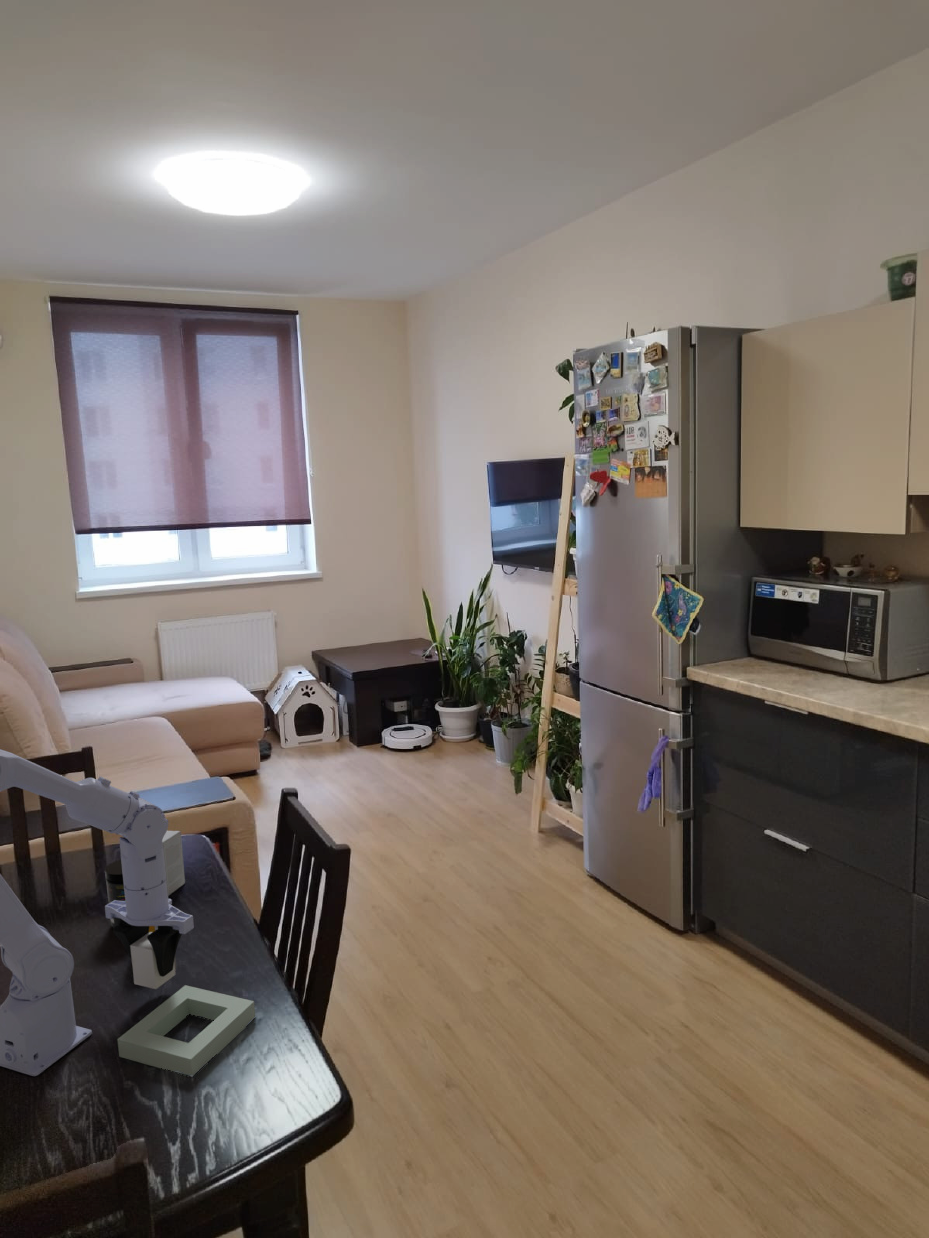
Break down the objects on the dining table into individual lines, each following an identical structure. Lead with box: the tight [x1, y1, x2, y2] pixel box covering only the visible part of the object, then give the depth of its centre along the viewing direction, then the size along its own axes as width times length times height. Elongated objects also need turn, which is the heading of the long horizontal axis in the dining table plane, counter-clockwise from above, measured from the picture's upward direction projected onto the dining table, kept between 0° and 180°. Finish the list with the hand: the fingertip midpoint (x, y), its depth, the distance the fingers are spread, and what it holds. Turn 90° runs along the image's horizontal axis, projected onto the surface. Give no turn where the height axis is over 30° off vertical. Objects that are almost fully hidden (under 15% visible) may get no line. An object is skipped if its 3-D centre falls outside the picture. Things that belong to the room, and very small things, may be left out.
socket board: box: [116, 984, 256, 1075], centre depth 117 cm, size 13×12×2 cm
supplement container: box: [104, 858, 125, 929], centre depth 148 cm, size 7×7×10 cm
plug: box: [130, 932, 178, 990], centre depth 127 cm, size 5×4×6 cm
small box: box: [162, 830, 186, 897], centre depth 161 cm, size 8×6×10 cm
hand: (154, 969), depth 126 cm, fingers closed on plug, 4 cm apart
